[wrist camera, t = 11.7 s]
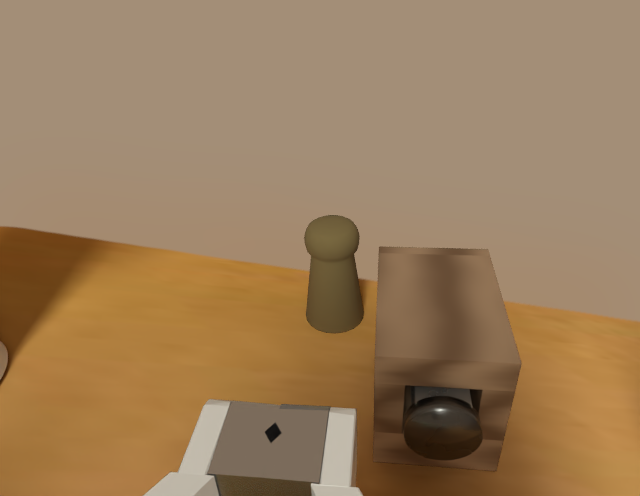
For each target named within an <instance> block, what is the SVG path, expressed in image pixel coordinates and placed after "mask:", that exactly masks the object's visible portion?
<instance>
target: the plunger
mask: <svg viewBox="0 0 640 496" xmlns="http://www.w3.org/2000/svg"><path fill="white" fill-rule="evenodd" d="M403 420H404V439H405V442H406V444H407V445H408V447H409V448H410V449H411V450H412V451H414V452H415V453H417V454H418V455H420V456H423V457H425V458H429V459H433V460H443V461H446V460H455V459H460V458H463V457H466V456H468V455H470V454H472V453H473V452H474V451H476V450H477V449H478V447H479V446H480V445H481V443H482V439H483V434H482V428H481V422H480V417H479V414H478V412H477V411H476V409H475V408H474V407H473V406H472V402H471V396H470V390H469V389H463V388H445V387H428V386H411V406H410V407H409V408H408V409H407V411H406V412H405V415H404V419H403Z"/></svg>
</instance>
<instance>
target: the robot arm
mask: <svg viewBox="0 0 640 496" xmlns="http://www.w3.org/2000/svg"><path fill="white" fill-rule="evenodd" d="M7 362H8V353H7V349H6V347H5V345H4V344H3V343H2V342H1V341H0V379H1V378H2V376H3V374H4V372H5V369H6V366H7ZM356 475H357V410H356V409H353V408H336V407H329V406H309V405H289V404H281V405H274V404H263V403H252V402H241V401H229V400H216V399H209V400H208V401H207V402H206V404H205V405H204V406H203V409H202V411H201V414H200V416H199V419H198V421H197V424H196V427H195V429H194V432H193V434H192V437H191V439H190V442H189V445H188V447H187V450H186V452H185V455H184V457H183V460H182V463H181V465H180V468H179V470H178V472H170V473H169V474H167V475H166V476H165V477H164V478H163V479H162V480H160V481H159V482H158V483H157V484H156V485H155V486H154V487H152V488H151V489H150V490H149V491H148V492H147V493H145V494H144V495H143V496H363V494H362V493H361V491H360V489H359V488H358V487H356Z"/></svg>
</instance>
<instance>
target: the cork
mask: <svg viewBox="0 0 640 496" xmlns="http://www.w3.org/2000/svg"><path fill="white" fill-rule="evenodd" d="M304 238H305V245H306V248H307V251H308V252H309V254H310V255H311V264H310V275H309V287H308V298H307V310H306V317H307V321H308V322H309V323H310V325H311V326H312V327H314V328H315V329H317V330H319V331H323V332H326V333H341V332H346V331H349V330H351V329H354V328H355V327H356V326H357V325H359V324H360V322H361V321H362V319H363V314H364V311H363V305H362V299H361V293H360V287H359V281H358V275H357V270H356V263H355V258H354V253H355V252H356V251H357V248H358V245H359V232H358V229H357V227H356V225H355V224H354V223H353V222H352V221H351V220H350V219H348V218H345V217H342V216H337V215H328V216H323V217H320V218H317V219H315V220H313V221H312V222H311V223H310V224H309V226H308V227H307V229H306V232H305V237H304Z"/></svg>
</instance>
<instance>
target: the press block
mask: <svg viewBox="0 0 640 496" xmlns="http://www.w3.org/2000/svg"><path fill="white" fill-rule="evenodd" d="M520 368H521V360H520V357H519V353H518V350H517V346H516V343H515V340H514V336H513V333H512V329H511V326H510V323H509V319H508V316H507V312H506V309H505V305H504V302H503V299H502V295H501V292H500V289H499V285H498V282H497V278H496V275H495V271H494V268H493V264H492V261H491V258H490V254H489V251H488V249H453V248H413V247H379V262H378V288H377V315H376V341H375V382H374V441H373V462H384V463H397V464H410V465H423V466H436V467H449V468H462V469H475V470H488V471H496V470H497V466H498V462H499V457H500V453H501V449H502V445H503V440H504V436H505V432H506V428H507V423H508V419H509V415H510V411H511V406H512V402H513V398H514V394H515V389H516V385H517V381H518V377H519V372H520ZM411 386H428V387H445V388H463V389H469V390H470V396H471V402H472V406H473V407H474V408H475V409H476V411H477V412H478V414H479V417H480V422H481V428H482V434H483V439H482V443H481V445H480V446H479V447H478V449H477V450H476V451H474V452H473V453H472V454H470V455H468V456H466V457H463V458H460V459H455V460H446V461H443V460H433V459H429V458H425V457H423V456H420V455H418V454H417V453H415V452H414V451H412V450H411V449H410V448H409V447H408V445H407V444H406V442H405V439H404V420H403V419H404V415H405V412H406V411H407V409H408V408H409V407H410V406H411Z"/></svg>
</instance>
